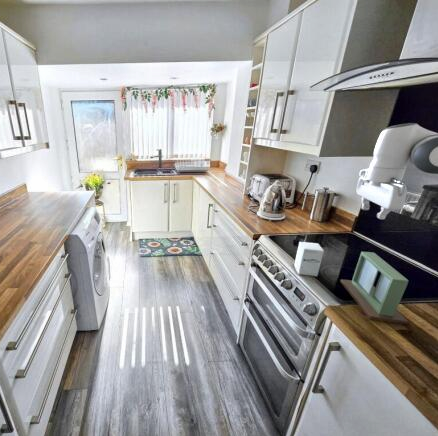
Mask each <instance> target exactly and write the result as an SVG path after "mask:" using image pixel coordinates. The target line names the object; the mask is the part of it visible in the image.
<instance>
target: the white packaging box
mask: <svg viewBox="0 0 438 436" xmlns="http://www.w3.org/2000/svg"><path fill="white" fill-rule="evenodd" d="M324 252H325V250H324V249H323V247H322V246H321V245H320V244H319V243H317V242H307V241H305V242H304V241H299V242H298V247H297V251H296V255H295V260H294V264H293V265H294V269H295V270H296V272H297V275H303V276H304V275H306V276H310V277H311V276H313V277H318V275H319V272H320V268H321V264H322V259H323V257H324Z"/></svg>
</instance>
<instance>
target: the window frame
mask: <svg viewBox="0 0 438 436" xmlns="http://www.w3.org/2000/svg"><path fill="white" fill-rule="evenodd" d="M379 272H380V274H381V273H382V274H383V275H384V276H385V277H386V278H388V279H389V280H390V283H389V285H388V288H387V290H386V293H385V295H384V298H383V300H382V303H381V302H380V301H379V300H378V299H377V298H376V297H375V296H374V295H373V294H374V291H375V288H376V286H375V285H374V284H375V281H376V279H377V277H378V273H379ZM339 282H340V284H341V285H342V286H343V287H344V288H345V290H346V291H347V292H348V294H349V295H350V296H351V297H352V298H353V300H354V301H355V302H356V304H357V305H358V307H360V309H361V310H362V311H363V313H364V314H365V315H366V316H367V318H368V319H369V320H374V321H381V322H387V323H396V324H402V325H408V323H409V320H407V318H405V316H404V315H403V314H402V313H401V312H399V310H398V307H399V305H400V303H401V300H402V298H403V295H404V293H405V291H406V289H407V286H408V283H409V280H408V278H406V277H405V276H404V275H402V274H401V273H400V272H399V271H398V270H396V269H395V268H394V267H392V266H391V265H390V264H389V263H388V262H386V261H385V260H384V259H383V258H381V256H379V255H378V254H377V253H375V252H370V251H361V252H360V254H359V258H358V261H357V264H356V267H355V270H354V273H353V275H352V280H350V279H342V278H341V279H340V280H339Z"/></svg>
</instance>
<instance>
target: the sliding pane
mask: <svg viewBox="0 0 438 436" xmlns="http://www.w3.org/2000/svg"><path fill="white" fill-rule="evenodd" d="M379 275H380V276H379V278H378V280H377V283H376V286H375V291H374V294H373V295H374V296H375V297H376V298H377V299H378V300H379V301H380V302H381V303H382V300H383V298H384V295H385V293H386V290H387V288H388V285H389V283H390V280H389V279H388V278H386V277H385V276H384V275H383V274H382V273H381V272H380V274H379Z"/></svg>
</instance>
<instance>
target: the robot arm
mask: <svg viewBox="0 0 438 436" xmlns="http://www.w3.org/2000/svg"><path fill="white" fill-rule="evenodd" d="M372 154H373V158H372V161H371V162H370V164H369V167H368V168H365V169H361V170H360V171H359V174H358V175H359V178H358V180H357V185H356V189H355V191H356V195H357V196H360V197H361V208H360V209H361V210H363V211H369V210H370V208H371V205H370V202H372V203H374V204H375V205H378V206H380V211H379V212H377V213H376V218H377V219H379V220H385V219H386V217H387V215H388V214H389V213H390V212H391V211H400V210H402V209H403V208H404V206H405V202H406V200H407V199H406V198H407V193H408V189H407V185H406V184H405V181H404V180H403V178H404V175H405V173H406V169H407V167H408V166H409V165H413V166H415V167H416V168H417V169H418V170H419V171H421V172H424V173H426V174H433V175H438V132H435V131H433V130H429V129H427V128H424V127H422V126H420V125H419V124H418V123H415V122H408V123H401V124H396V125H395V124H394V125H391V126H388V127H386V128H384V129H383V130H382V131H381V132H380V134H379V136H378V139H377V141H376V144H375V147H374V149H373V153H372Z"/></svg>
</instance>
